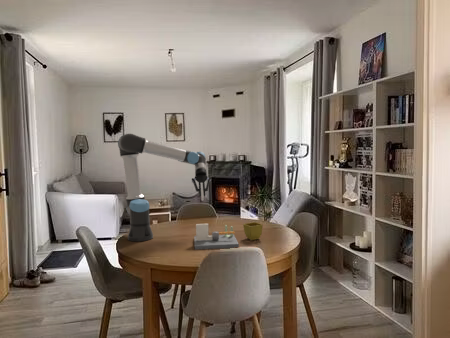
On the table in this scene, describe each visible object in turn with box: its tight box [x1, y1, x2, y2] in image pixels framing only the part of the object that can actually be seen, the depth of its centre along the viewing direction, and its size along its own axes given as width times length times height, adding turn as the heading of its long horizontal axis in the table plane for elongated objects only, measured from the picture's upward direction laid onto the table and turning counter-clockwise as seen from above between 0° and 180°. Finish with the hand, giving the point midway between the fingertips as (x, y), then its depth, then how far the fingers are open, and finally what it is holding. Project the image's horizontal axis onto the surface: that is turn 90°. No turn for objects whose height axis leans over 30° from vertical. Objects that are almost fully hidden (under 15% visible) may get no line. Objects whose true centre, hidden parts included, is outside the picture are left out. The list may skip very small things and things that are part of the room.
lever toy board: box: [193, 224, 240, 250], centre depth 206 cm, size 24×22×8 cm
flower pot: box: [242, 221, 263, 241], centre depth 215 cm, size 9×9×9 cm
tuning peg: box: [195, 223, 236, 240], centre depth 205 cm, size 22×4×9 cm, turn 96°
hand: (202, 199), depth 224 cm, fingers closed
